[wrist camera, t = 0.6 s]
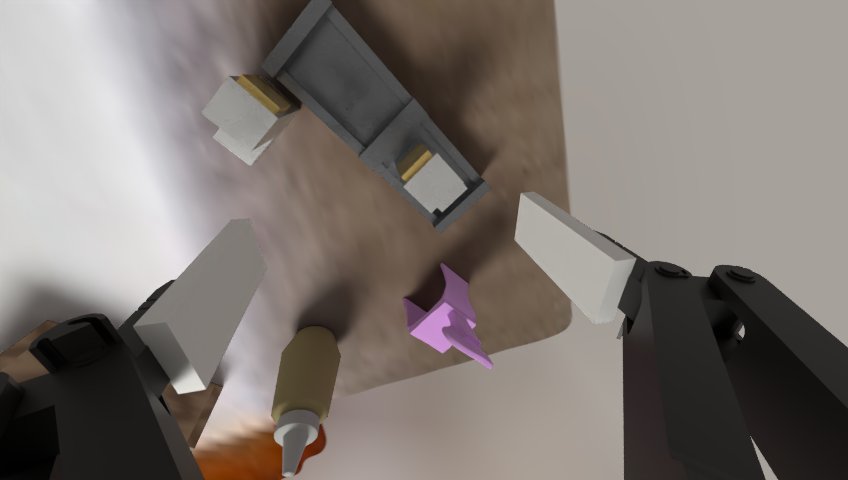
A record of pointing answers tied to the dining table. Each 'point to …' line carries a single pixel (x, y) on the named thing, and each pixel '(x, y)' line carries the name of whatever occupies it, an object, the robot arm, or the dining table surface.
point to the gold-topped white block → (249, 115)
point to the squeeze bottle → (304, 391)
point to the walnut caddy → (185, 407)
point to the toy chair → (448, 320)
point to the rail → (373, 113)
